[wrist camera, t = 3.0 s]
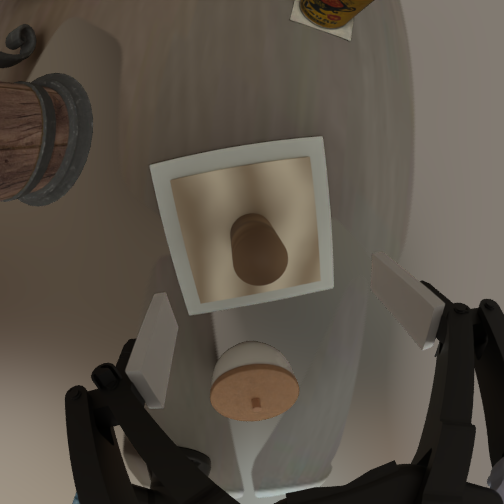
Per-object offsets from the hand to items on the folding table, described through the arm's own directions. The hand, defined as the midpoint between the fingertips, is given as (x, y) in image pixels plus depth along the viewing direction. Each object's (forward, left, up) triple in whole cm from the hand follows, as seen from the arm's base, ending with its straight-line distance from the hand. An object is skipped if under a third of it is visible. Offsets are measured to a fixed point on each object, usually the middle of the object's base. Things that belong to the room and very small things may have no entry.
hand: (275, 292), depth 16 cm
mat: (0, 0, -14) cm, 14 cm away
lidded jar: (-3, -18, -14) cm, 23 cm away
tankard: (-23, +20, -14) cm, 34 cm away
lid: (0, 0, -14) cm, 14 cm away
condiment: (+13, +26, -14) cm, 32 cm away
